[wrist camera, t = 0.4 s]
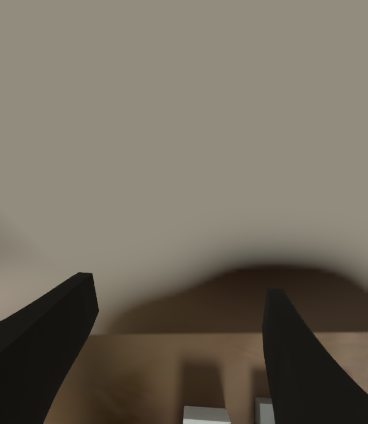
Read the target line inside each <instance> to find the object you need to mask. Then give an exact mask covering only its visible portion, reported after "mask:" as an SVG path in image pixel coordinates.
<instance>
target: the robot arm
mask: <svg viewBox="0 0 368 424" xmlns="http://www.w3.org/2000/svg"><path fill="white" fill-rule="evenodd" d="M98 312H99V309H98V303H97V297H96V292H95V287H94V280H93V275H92V273H81V272H79V273H77V274H75V275H74V276H72V277H70V278H69V279H67V280H66V281H64V282H63V283H61V284H60V285H58V286H57V287H55V288H54V289H52V290H51V291H49V292H48V293H46V294H45V295H43V296H42V297H40V298H39V299H37V300H35V301H34V302H32V303H31V304H29V305H27V306H26V307H24V308H22V309H21V310H19V311H18V312H16V313H14V314H12V315H11V316H9V317H8V318H6V319H4V320H2V321H0V424H43V422H44V420H45V418H46V416H47V413H48V411H49V409H50V407H51V404H52V402H53V400H54V398H55V396H56V393H57V392H58V390H59V388H60V386H61V384H62V382H63V380H64V378H65V377H66V375H67V373H68V371H69V370H70V368H71V366H72V364H73V363H74V361H75V359H76V357H77V356H78V354H79V352H80V350H81V348H82V347H83V345H84V343H85V341H86V339H87V338H88V336H89V334H90V332H91V329H92V327H93V325H94V322H95V320H96V317H97V315H98ZM262 333H263V351H264V358H265V364H266V370H267V376H268V382H269V388H270V394H271V400H272V406H273V412H274V419H275V424H368V394H367V393H366V392H365V391H364V390H363V389H362V388H361V387H360V386H359V385H358V384H357V383H356V382H355V381H354V380H353V379H352V378H351V377H350V376H349V375H348V374H347V373H346V372H345V371H344V370H343V369H342V368H341V367H340V366H339V364H338V363H337V362H336V361H335V360H334V359H333V358H332V356H331V355H330V354H329V353H328V352H327V350H326V349H325V348H324V347H323V345H322V344H321V343H320V342H319V340H318V339H317V338H316V337H315V335H314V334H313V333H312V331H311V330H310V328H309V327H308V326H307V324H306V323H305V322H304V320H303V319H302V318H301V316H300V314H299V313H298V311H297V310H296V308H295V306H294V305H293V303H292V302H291V300H290V298H289V297H288V295H287V293H286V291H285V290H284V289H279V288H267V291H266V299H265V308H264V317H263V325H262Z"/></svg>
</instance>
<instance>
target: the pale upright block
mask: <svg viewBox="0 0 368 424" xmlns="http://www.w3.org/2000/svg"><path fill="white" fill-rule="evenodd" d="M183 424H231V422H230V419H229V416H228V414H227V411H226V409H223V408H209V407H195V406H184V417H183Z"/></svg>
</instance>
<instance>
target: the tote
mask: <svg viewBox="0 0 368 424" xmlns="http://www.w3.org/2000/svg"><path fill="white" fill-rule="evenodd" d="M255 424H275V419H274V412H273V406H272V400H271V398H267V397H255Z"/></svg>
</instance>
